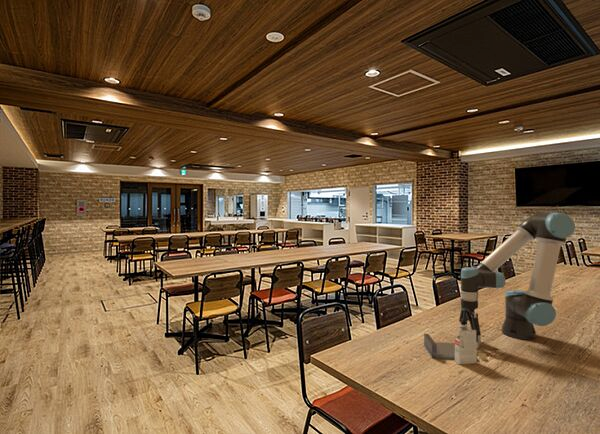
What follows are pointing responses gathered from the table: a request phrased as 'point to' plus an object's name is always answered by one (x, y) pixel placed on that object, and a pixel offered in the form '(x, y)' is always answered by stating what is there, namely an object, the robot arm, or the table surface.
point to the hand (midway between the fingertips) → (469, 342)
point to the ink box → (466, 347)
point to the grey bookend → (439, 348)
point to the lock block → (469, 333)
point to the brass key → (481, 355)
